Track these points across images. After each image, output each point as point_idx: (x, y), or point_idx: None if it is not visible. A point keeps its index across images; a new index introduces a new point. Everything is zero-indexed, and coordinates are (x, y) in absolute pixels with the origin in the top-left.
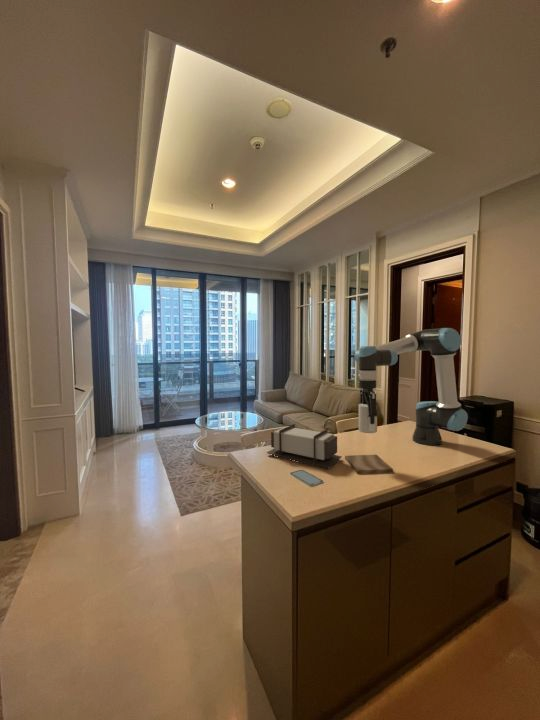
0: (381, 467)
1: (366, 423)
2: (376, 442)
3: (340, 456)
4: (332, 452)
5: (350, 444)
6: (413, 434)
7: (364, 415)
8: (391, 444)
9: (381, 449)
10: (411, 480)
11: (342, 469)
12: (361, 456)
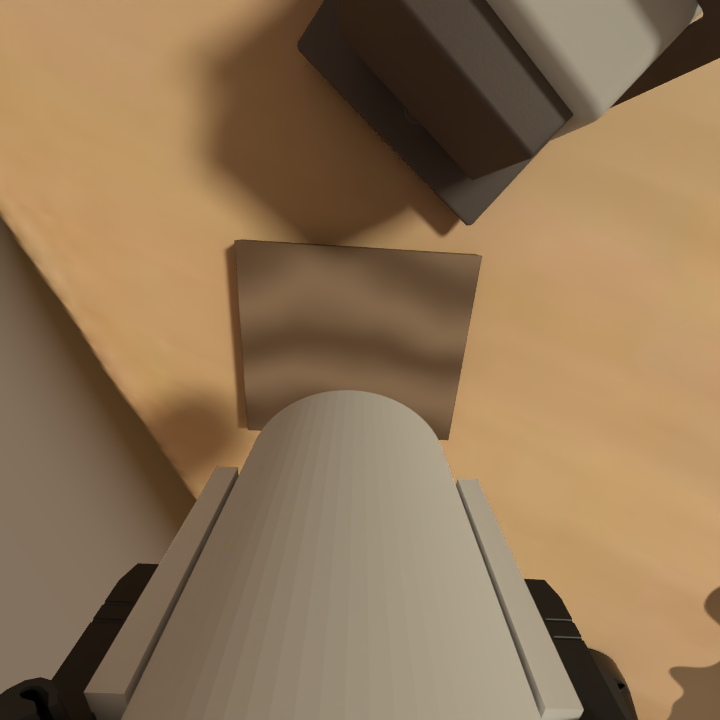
0: (269, 387)
1: (217, 524)
2: (645, 518)
3: (469, 215)
4: (405, 94)
5: (689, 382)
6: (611, 684)
7: (163, 663)
8: (586, 562)
9: (542, 497)
10: (168, 450)
11: (311, 169)
12: (441, 353)
